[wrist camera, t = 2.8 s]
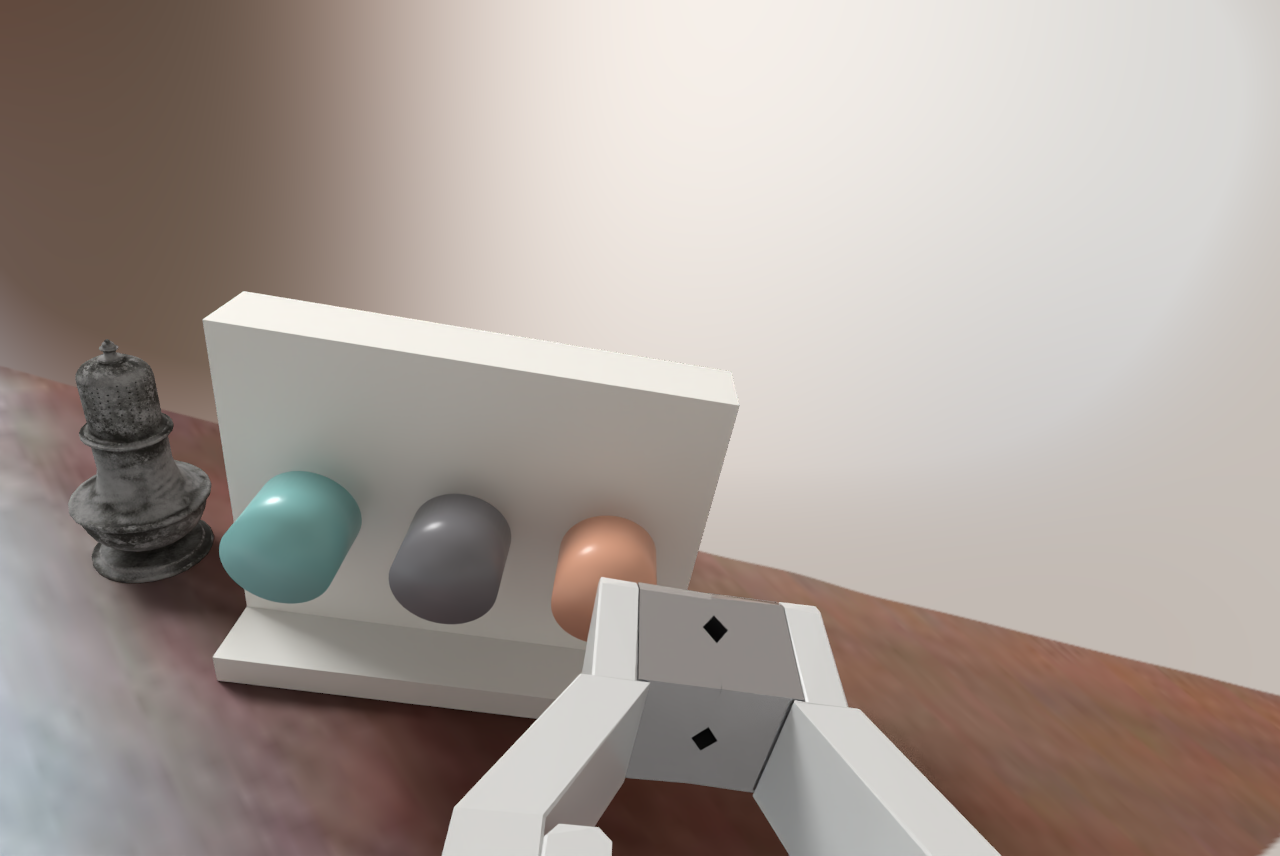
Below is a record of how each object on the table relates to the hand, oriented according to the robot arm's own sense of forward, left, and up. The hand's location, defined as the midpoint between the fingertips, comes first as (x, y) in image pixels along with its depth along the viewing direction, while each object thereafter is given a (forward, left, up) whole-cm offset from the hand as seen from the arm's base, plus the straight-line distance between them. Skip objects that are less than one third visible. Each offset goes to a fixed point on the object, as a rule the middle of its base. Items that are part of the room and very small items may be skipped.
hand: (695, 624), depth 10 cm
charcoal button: (-6, +14, -14) cm, 21 cm away
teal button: (-12, +14, -14) cm, 23 cm away
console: (-6, +17, -21) cm, 28 cm away
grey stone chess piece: (-23, +21, -21) cm, 38 cm away
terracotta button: (0, +14, -14) cm, 20 cm away
